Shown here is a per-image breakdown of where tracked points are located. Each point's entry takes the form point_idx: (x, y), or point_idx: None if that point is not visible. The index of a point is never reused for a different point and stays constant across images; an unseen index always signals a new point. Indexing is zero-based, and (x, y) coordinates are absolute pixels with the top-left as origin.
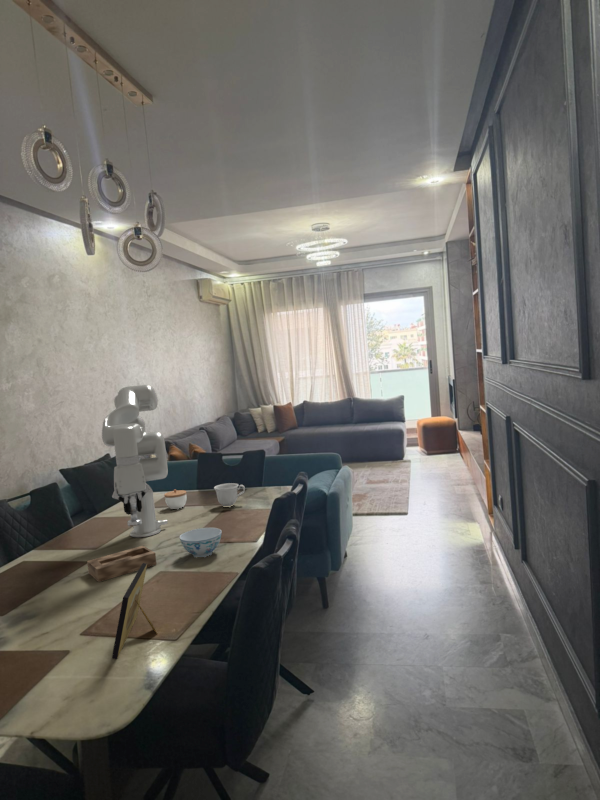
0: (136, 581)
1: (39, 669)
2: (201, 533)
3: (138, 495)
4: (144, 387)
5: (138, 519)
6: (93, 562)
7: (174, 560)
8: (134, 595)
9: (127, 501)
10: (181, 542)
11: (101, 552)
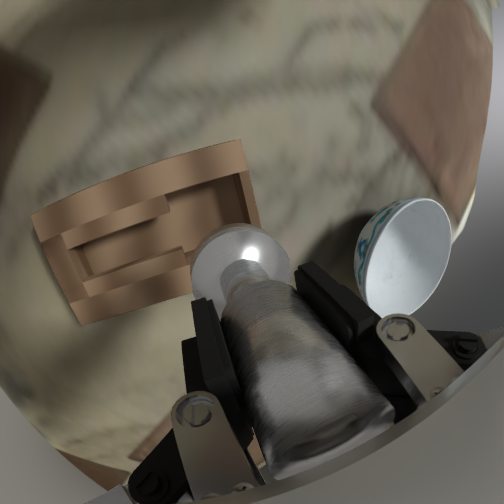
0: None
1: (111, 479)
2: (422, 203)
3: (393, 425)
4: None
5: (272, 271)
6: (53, 248)
7: (310, 242)
8: None
9: (247, 451)
10: (359, 272)
11: (102, 6)
